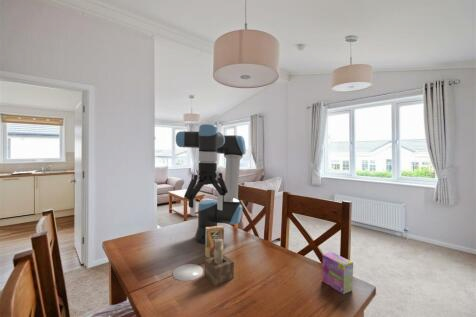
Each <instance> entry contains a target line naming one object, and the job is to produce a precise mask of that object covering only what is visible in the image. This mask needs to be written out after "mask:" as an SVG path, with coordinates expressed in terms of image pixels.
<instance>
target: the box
mask: <svg viewBox="0 0 476 317" xmlns="http://www.w3.org/2000/svg"><path fill="white" fill-rule="evenodd" d="M321 274H322V276H321V277H322V278H321V280H322V282H323V283H325V284H326V285H328V286H329V285H330V286H329V287H331V288H332V289H334V290H336V291H337V292H339V293H340V294H342V295H346V294H347V293H350V292H352V291H353V278H354V262H353V261H352V260H350V259H347V258H345V257H343V256H341V255H339V254H336V253H334V252H332V251H329V252H325V253H324V254H322V273H321ZM345 293H346V294H345Z"/></svg>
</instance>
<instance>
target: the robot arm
mask: <svg viewBox="0 0 476 317" xmlns="http://www.w3.org/2000/svg"><path fill="white" fill-rule="evenodd" d="M175 144H176V145H177V146H178V147H179V148H184V149H185V148H194V149H198V174H194V173H193V174H191V180H190V181H189V184H188V186H187V189H186V191H185V193H184V197H183V198H184V199H186V200H187V199H188V208H189V209H190V210H189V211H190V212H189V215H190V216H192V217H196V203H197V200H196V199H195V198H196V197H197V195H198V193H199V192H200V191H201V189H202V188H203V187H204V186H205V185H212V186H213V188H214V189H215V190H216V191H217V193H218V194H217V199H208V200H203V201H201V202H200V203H199V204H198V207H197V208H198V209H197V215H198V216H197V222H198V223H197V228H196V232H195V235H194V240H195V241H196V242H197V243H200V244H205V232H206V227H212V226H218V224H224V225H225V224H226V225H238V224H240V221H241V217H242V214H243V205H242V204H241V201H240V200H239V183H240V182H239V180H240V167H241V166H240V165H241V159H242V158H243V156H244V155H245V154H246V141H245V137H243V135H234V134H233V135H225V134H223V133H221V132H220V131H219V130H218V126H217V125H216V124H200V125H199V129H198V131H192V130H191V131H188V130H187V131H186V130H183V131H178V132H177V133H176V135H175ZM218 154H220V155H221V154H223V156H224V158H225V170H224V171H225V172H224V174H225V175H224V177H223V173H222V172H217V170H218V169H217V168H218V163H217V161H218ZM216 179H217V180H216Z"/></svg>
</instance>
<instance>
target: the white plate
mask: <svg viewBox="0 0 476 317" xmlns="http://www.w3.org/2000/svg"><path fill="white" fill-rule="evenodd" d="M203 273H204V269H203V268H202V266H200V265H198V264H195V263H186V264H182V265H180V266H178V267H176V268H175V269H174V270H173V271H172V277H173V278H174V279H175V280H178V281H181V282H188V281H193V280H196V279H198V278H200V277H201V276H202V275H203Z"/></svg>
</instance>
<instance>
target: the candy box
mask: <svg viewBox="0 0 476 317" xmlns="http://www.w3.org/2000/svg"><path fill="white" fill-rule="evenodd" d="M224 232H225V228H224V227H223V225H217V226H212V227H206V232H205V243H204V250H205V251H204V253H205V254H204V255H205V257H206V258H211V257H214V247H215V239H223V247H224V239H225V238H224V237H225V236H224V235H225V233H224Z"/></svg>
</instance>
